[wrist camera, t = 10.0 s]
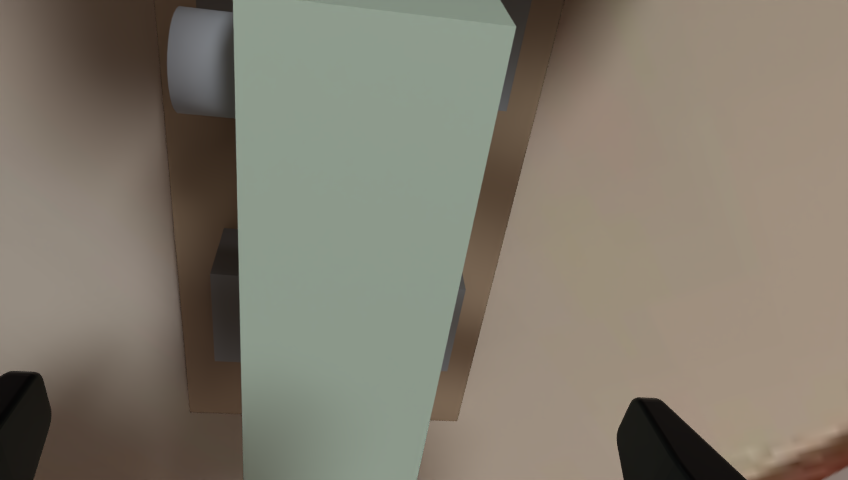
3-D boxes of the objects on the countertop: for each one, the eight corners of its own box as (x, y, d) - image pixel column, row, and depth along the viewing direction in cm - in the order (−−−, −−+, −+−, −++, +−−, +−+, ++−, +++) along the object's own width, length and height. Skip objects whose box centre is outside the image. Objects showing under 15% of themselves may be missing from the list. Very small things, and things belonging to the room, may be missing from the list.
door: (382, 331, 20) (392, 593, 14) (249, 324, 20) (195, 594, 13) (442, -95, 14) (516, 26, 7) (244, -125, 13) (130, -21, 7)
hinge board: (453, 399, 24) (464, 469, 22) (196, 389, 23) (176, 464, 20) (626, -308, 13) (689, -327, 10) (135, -407, 11) (73, -455, 9)
